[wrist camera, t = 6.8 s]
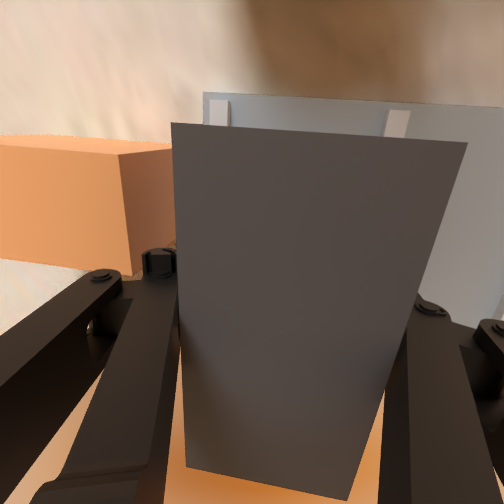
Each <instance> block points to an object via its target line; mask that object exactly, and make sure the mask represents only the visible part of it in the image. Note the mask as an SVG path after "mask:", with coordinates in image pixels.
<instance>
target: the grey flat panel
mask: <svg viewBox="0 0 504 504" xmlns="http://www.w3.org/2000/svg"><path fill="white" fill-rule="evenodd" d="M203 125H217V126H232V127H247V128H262V129H277V130H292V131H306V132H321V133H336V134H351V135H366V136H381V137H396V138H410V139H425V140H440V141H455V142H468V145H467V148H466V151H465V154H464V157H463V160H462V163H461V166H460V169H459V172H458V175H457V178H456V181H455V184H454V187H453V190H452V193H451V195H450V198H449V201H448V204H447V207H446V210H445V213H444V216H443V219H442V222H441V225H440V228H439V231H438V234H437V237H436V240H435V243H434V246H433V249H432V252H431V255H430V257H429V260H428V263H427V266H426V269H425V272H424V275H423V278H422V281H421V284H420V287H419V290H418V293H419V294H420V295H421V297H422V298H423V299H424V300H426V301H429V302H432V303H435V304H437V305H439V306H441V307H442V308H444V309H445V310H446V311H447V312H448V313H449V315H450V317H451V320H452V322H455V323H458V324H461V325H464V326H468V327H471V328H475V329H477V327H478V325H479V322H480V320H482V319H486V318H487V319H496V320H500V321H501V320H503V321H504V108H497V107H478V106H460V105H441V104H422V103H404V102H385V101H366V100H347V99H329V98H310V97H291V96H273V95H254V94H235V93H217V92H203Z"/></svg>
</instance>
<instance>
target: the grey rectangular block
mask: <svg viewBox="0 0 504 504" xmlns="http://www.w3.org/2000/svg"><path fill="white" fill-rule="evenodd" d="M171 138H172V160H173V183H174V206H175V228H176V251H177V274H178V296H179V319H180V342H181V364H182V385H183V386H182V387H183V409H184V432H185V454H186V467H189V468H194V469H198V470H203V471H207V472H212V473H217V474H221V475H226V476H231V477H235V478H240V479H245V480H250V481H254V482H259V483H264V484H268V485H273V486H278V487H282V488H287V489H292V490H297V491H301V492H306V493H310V494H315V495H320V496H324V497H329V498H334V499H339V500H344V501H347V499H348V496H349V494H350V491H351V488H352V485H353V482H354V479H355V476H356V473H357V470H358V467H359V464H360V461H361V458H362V455H363V452H364V449H365V446H366V444H367V441H368V438H369V434H370V432H371V429H372V425H373V423H374V420H375V417H376V414H377V411H378V408H379V405H380V402H381V399H382V396H383V393H384V390H385V387H386V384H387V382H388V379H389V376H390V373H391V370H392V367H393V364H394V361H395V358H396V355H397V352H398V349H399V346H400V343H401V340H402V337H403V334H404V331H405V328H406V325H407V322H408V319H409V317H410V314H411V311H412V308H413V305H414V302H415V299H416V296H417V293H418V290H419V287H420V284H421V281H422V278H423V275H424V272H425V269H426V266H427V263H428V260H429V257H430V255H431V252H432V249H433V246H434V243H435V240H436V237H437V234H438V231H439V228H440V225H441V222H442V219H443V216H444V213H445V210H446V207H447V204H448V201H449V198H450V195H451V193H452V190H453V187H454V184H455V181H456V178H457V175H458V172H459V169H460V166H461V163H462V160H463V157H464V154H465V151H466V148H467V145H468V142H455V141H440V140H425V139H410V138H396V137H381V136H366V135H351V134H336V133H321V132H306V131H292V130H277V129H262V128H247V127H232V126H217V125H203V124H188V123H173V122H171Z"/></svg>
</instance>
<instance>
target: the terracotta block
mask: <svg viewBox="0 0 504 504" xmlns="http://www.w3.org/2000/svg"><path fill="white" fill-rule="evenodd" d="M175 239H176V228H175V206H174V183H173V160H172V144H166V143H153V142H140V141H126V140H113V139H100V138H87V137H74V136H61V135H0V258H2V259H9V260H17V261H24V262H32V263H39V264H46V265H54V266H61V267H68V268H76V269H83V270H91V271H95V270H97V269H100V270H101V269H113V270H117V271H119V272H120V273H121V275H127V276H133V275H134V274H136V273H137V272H138V271H139V270H140V269H141V268H143V266H142V256H141V255H142V254H143V253H144V252H145V251H147V250H150V249H154V248H166V247H167V246H168V245H169V244H171V243H172V242H173V241H174V240H175Z"/></svg>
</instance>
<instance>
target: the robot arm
mask: <svg viewBox="0 0 504 504" xmlns="http://www.w3.org/2000/svg"><path fill="white" fill-rule="evenodd" d="M141 256H142V266H143V277H142V279H141V280H135V281H122V278H121V273H120V272H119V271H117V270H113V269H101V270H100V269H97V270H95V271H92V272H89V273H87V274H85V275H83V276H82V277H81V278H79V279H78V280H77V281H75V282H74V283H72V284H71V285H70V286H68V287H67V288H65V289H64V290H63V291H61V292H60V293H59V294H57V295H56V296H54V297H53V298H52V299H50V300H49V301H48V302H46V303H45V304H43V305H42V306H41V307H39V308H38V309H37V310H35V311H34V312H32V313H31V314H30V315H28V316H27V317H26V318H24V319H23V320H21V321H20V322H19V323H17V324H16V325H15V326H13V327H12V328H10V329H9V330H8V331H6V332H5V333H4V334H2V335H1V336H0V504H4V502H5V501H6V500H7V498H8V497H9V496H10V494H11V493H12V492H13V490H14V489H15V488H16V486H17V485H18V483H19V482H20V481H21V480H22V478H23V477H24V475H25V474H26V473H27V471H28V470H29V469H30V467H31V466H32V465H33V463H34V462H35V461H36V459H37V458H38V457H39V455H40V454H41V453H42V451H43V450H44V449H45V447H46V446H47V445H48V443H49V442H50V441H51V439H52V438H53V436H54V435H55V434H56V432H57V431H58V430H59V428H60V427H61V426H62V424H63V423H64V422H65V420H66V419H67V418H68V416H69V415H70V413H71V412H72V411H73V409H74V408H75V407H76V406H77V404H78V403H79V401H80V400H81V399H82V397H83V396H84V395H85V393H86V392H87V391H88V389H89V388H90V387H91V385H92V384H93V383H94V381H95V380H96V379H97V377H98V376H99V374H100V373H101V372H102V370H103V369H104V371H103V373H102V375H101V378H100V380H99V383H98V385H97V388H96V390H95V393H94V395H93V397H92V400H91V402H90V404H89V407H88V409H87V411H86V414H85V416H84V419H83V421H82V423H81V426H80V429H79V431H78V433H77V435H76V438H75V440H74V443H73V445H72V447H71V450H70V453H69V455H68V457H67V460H66V462H65V465H64V467H63V469H62V471H61V473H60V474H59V476H58V477H57V478H56V479H55V480H53V481H49V482H46V483H44V484H43V485H42V486H41V487H40V488H39V489H38V491H37V492H36V493H35V494H34V496H33V498H32V500H31V501H30V503H29V504H163V502H164V492H165V482H166V474H167V465H168V455H169V446H170V436H171V428H172V419H173V410H174V401H175V392H176V382H177V373H178V364H179V354H180V346H181V342H180V319H179V296H178V274H177V251H176V250H175V249H171V248H154V249H150V250H147V251H145V252H144V253H143V254H142V255H141ZM88 324H89V328H88V329H87V327H88ZM493 467H494V468H493ZM494 469H495V471H496V473H497V475H498V477H499V479H500V480H501V482H502V484H503V486H504V321H503V320H501V321H500V320H496V319H487V318H486V319H482V320H480V322H479V325H478V327H477V329H475V328H471V327H468V326H464V325H461V324H458V323H455V322H452V320H451V317H450V315H449V313H448V312H447V311H446V310H445V309H444V308H442V307H441V306H439V305H437V304H435V303H432V302H429V301H426V300H424V299H423V298H422V297H421V295H420V294H419V293H417V296H416V299H415V302H414V305H413V308H412V311H411V314H410V317H409V319H408V322H407V325H406V328H405V331H404V334H403V337H402V340H401V343H400V346H399V349H398V352H397V355H396V358H395V361H394V364H393V367H392V370H391V373H390V376H389V379H388V382H387V384H386V387H385V398H384V413H383V428H382V444H381V460H380V475H379V490H378V504H504V503H503V500H502V497H501V493H500V489H499V486H498V483H497V479H496V475H495V472H494Z"/></svg>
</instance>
